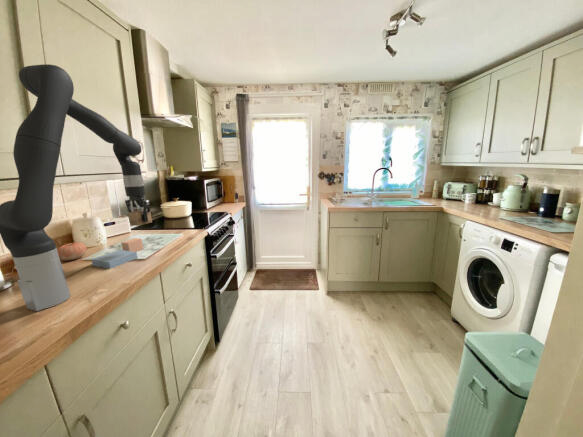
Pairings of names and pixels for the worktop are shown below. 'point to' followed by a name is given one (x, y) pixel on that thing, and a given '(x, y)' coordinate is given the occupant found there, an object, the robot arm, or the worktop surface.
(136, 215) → the walnut brick
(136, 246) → the terracotta brick
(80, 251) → the reddish brown rounded lump
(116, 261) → the base plate
